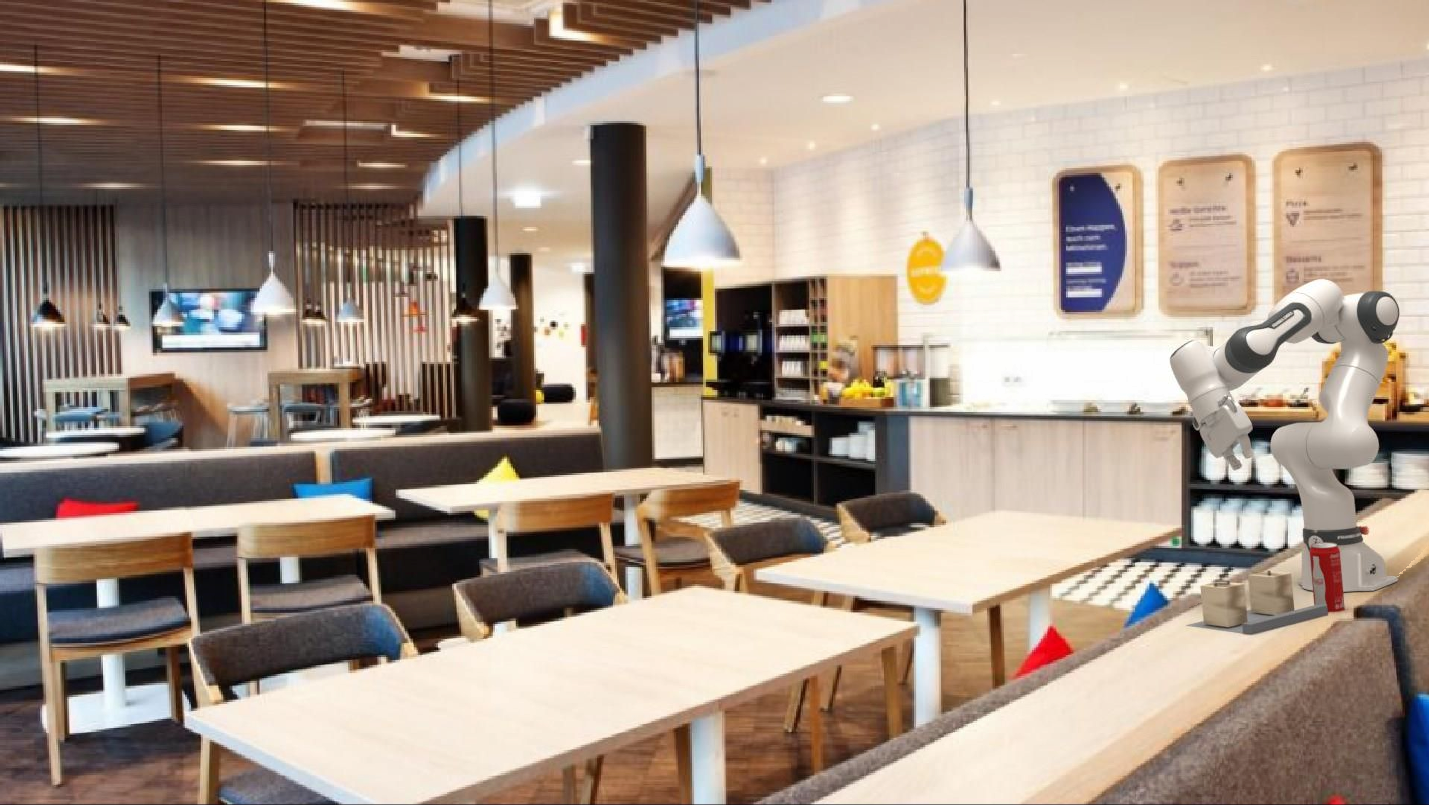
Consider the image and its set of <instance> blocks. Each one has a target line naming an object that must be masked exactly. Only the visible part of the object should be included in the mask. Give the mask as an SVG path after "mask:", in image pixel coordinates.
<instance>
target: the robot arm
mask: <svg viewBox="0 0 1429 805" xmlns="http://www.w3.org/2000/svg"><path fill="white" fill-rule="evenodd" d="M1399 320H1400V307H1399V304H1398V302H1397V300H1396V298H1394V296H1393V295H1391V294H1390V293H1388V292H1386V291H1382V290H1378V291H1377V290H1369V291H1367V292H1360V293H1353V294H1347V295H1344V293H1343V291H1342V289H1341V288H1340V286H1339V285H1338V284H1337V283H1335V282H1333V281H1331V280H1329V279H1325V278H1324V279H1323V278H1317V279H1315V280H1312V281H1310V282H1307V283H1305V284H1303V285H1301V286H1299V287H1298V288H1296V289H1294V290H1293V291H1291V292H1290V293H1288V294H1286V295H1285V296H1283V297H1282V299H1280V300H1278V302H1277V303H1276V304H1275V305H1274V306H1273V307H1272V308H1271V309H1270V311H1269V313H1268V315H1267V319H1266V320H1265V321H1263V322H1262V323H1259V324H1256V325H1248V326H1244V327H1241V328H1239V329H1237V330H1236V331H1235V332H1234V333H1233V334H1232V335H1231V336H1230V337H1229V339H1227V341H1225V342H1224V343H1223V344H1222V345H1221V346H1211V345H1207V344H1204V343H1202V342H1201V341H1199V340H1198V339H1192V340H1189V341H1187V342H1186V343H1184V344H1182V345H1181V346H1180V347H1178V348H1177V349H1175V351H1174V352H1173V353H1171V355H1170V357H1169V365H1170V367H1171V371H1172V373H1173V375H1174V378H1175V380H1176V382H1177V384H1178V385H1179V387H1180V389H1181V390H1182V391H1183V392H1184V394H1185V395H1186V397H1187V401H1188V404H1189V407H1190V408H1191V410H1192V416H1193V417H1192V418H1193V419H1192V425H1193V428H1194V430H1196V431H1199V433H1200V436H1201V438H1202V440H1203V442H1204V444H1205V446H1206V447H1207V448H1208V450H1209V452H1210V454H1211V455H1212V456H1213V457H1214V458H1216V459H1220V458H1221V457H1223V459H1224V460H1225V461H1226V463H1228V464H1229V465H1230V466H1231V469H1232V470H1233V471H1237V470H1240V469H1242V467H1243V464H1242V463H1241V460H1240V459H1238V458H1237V457H1236V455H1235V452H1234V449H1235V448H1237V446H1238V445H1239V444H1240V448H1241V454H1242V455H1243V457H1244V459H1249V458H1252V457H1253V456H1254V455H1255V452H1254V450H1253V448H1252V445H1251V444H1252V443H1251V439H1250V437H1249V435H1248V434H1249V433H1251V432H1252V431H1253V428H1254V427H1253V424H1252V421H1251V420H1250V418H1249V417H1248V415H1247V413H1246V411H1245V410H1244V408H1243V407H1242V406H1241V404H1240V403H1239V402H1238V401H1235V400H1234V397H1233V395H1232V394H1231V391H1234V390H1237V389H1238V388H1241V386H1243V385H1245V384H1246V383H1247V382H1249V380H1250V379H1252V378H1253V377H1254V376H1255V375H1257V374H1258V373H1260V372H1261V371H1262V370H1264V369H1265V368H1267V367H1268V366H1269V365H1271V364H1272V363H1273V361H1274V360H1275V359H1276V358H1275V357H1276V356H1277V353H1278V351H1279V348H1280V346H1281V345H1283V344H1284V343H1285V342H1286V343H1288V344H1299V343H1301V342H1303V341H1305V340H1307V339H1309V338H1310V337H1311V338H1312V339H1313V340H1314V341H1315V342H1317V343H1320V344H1325V345H1326V344H1327V345H1335V344H1337V343H1340V353H1339V356H1338V357H1337V358H1336V360H1335V362H1334V363H1333V366H1332V367H1331V369H1330V372H1329V374H1328V376H1327V378H1326V380H1325V381H1324V384H1323V386H1322V388H1321V390H1320V392H1319V395H1318V399H1319V403H1320V405H1321V407H1322V408H1323V410H1324V411H1325V412H1326V413H1327V416H1326V418H1324V420H1323V421H1319V422H1315V421H1313V422H1312V421H1311V422H1296V423H1295V422H1294V423H1292V424H1287V425H1283V426H1280V427H1279V428H1277V429H1276V430H1275V432H1274V433H1273V434H1272V436H1271V440H1270V451H1271V455H1272V456H1273V458H1274V460H1275V462H1277V463H1278V464H1280V465H1281V466H1282V467H1283V468H1284V469H1285V470H1286V471H1287V472H1288V474H1289V475H1290V477H1291V478H1292V480H1293V482H1294V483H1295V485H1296V488H1297V491H1298V493H1299V498H1300V502H1301V508H1302V517H1303V528H1302V534H1301V535H1302V540H1303V541H1302V542H1303V543H1304V544H1305V546H1304V548H1303V549H1302V551H1301V579H1298V580H1297V581H1298V582H1297V584H1298V585H1299V586H1301V589H1305V590H1308V591H1313V585H1312V573H1311V562H1310V549H1311V545H1312V544H1315V543H1325V542H1326V543H1335V544H1337V546H1338V548H1339V550H1340V559H1341V570H1342V582H1343V593H1344V592H1372V591H1373V592H1374V591H1376V590H1379V589H1382V588H1384V587H1386V586H1388V585H1391V584H1394V583H1397V582H1398V581H1399V579H1398V576H1395V575H1392V574H1391V575H1390V574H1386V573H1387V571H1386V565H1385V560H1384V557H1383V556H1382V555H1381V554H1380V553H1378V552H1377V551H1375V550H1374V549H1373V548H1372V547H1370V546H1369V545H1367V544H1366V542H1364V537H1363V535H1364V536H1368V535H1369V534H1370V529H1369V526H1367V525H1366V526H1361V525H1360V526H1358V525H1357V517H1356V504H1355V496H1354V494H1353V492H1352V490H1351V489H1349V488H1348V487H1347V486H1345V485H1344V484H1342V483H1341V482H1340V481H1339V480H1338V478H1337V477H1336V475H1335V473H1334V471H1333V470H1351V469H1357V468H1360V467H1364V466H1368V465H1370V464H1372V463H1373V462H1374V460H1375V459H1376V457H1377V455H1378V453H1379V450H1380V449H1379V448H1380V444H1379V438H1378V436H1377V433H1376V432H1375V431H1374V429H1373V428H1372V427H1371V426H1370V425H1369V421H1368V420H1369V419H1368V416H1369V412H1370V409H1371V406H1372V404H1373V402H1374V399H1375V397H1376V394H1377V392H1378V390H1379V388H1380V386H1381V384H1382V381H1383V378H1384V377H1385V376H1384V375H1385V373H1386V371H1387V370H1386V369H1387V365H1388V360H1389V351H1388V349H1387V347H1386V346H1385V345H1384V344H1385V343H1386V342H1387V341H1389V340H1390V339H1391V338H1392V336H1393V334H1394V331H1395V329H1396V328H1397V325H1398V322H1399Z"/></svg>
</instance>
